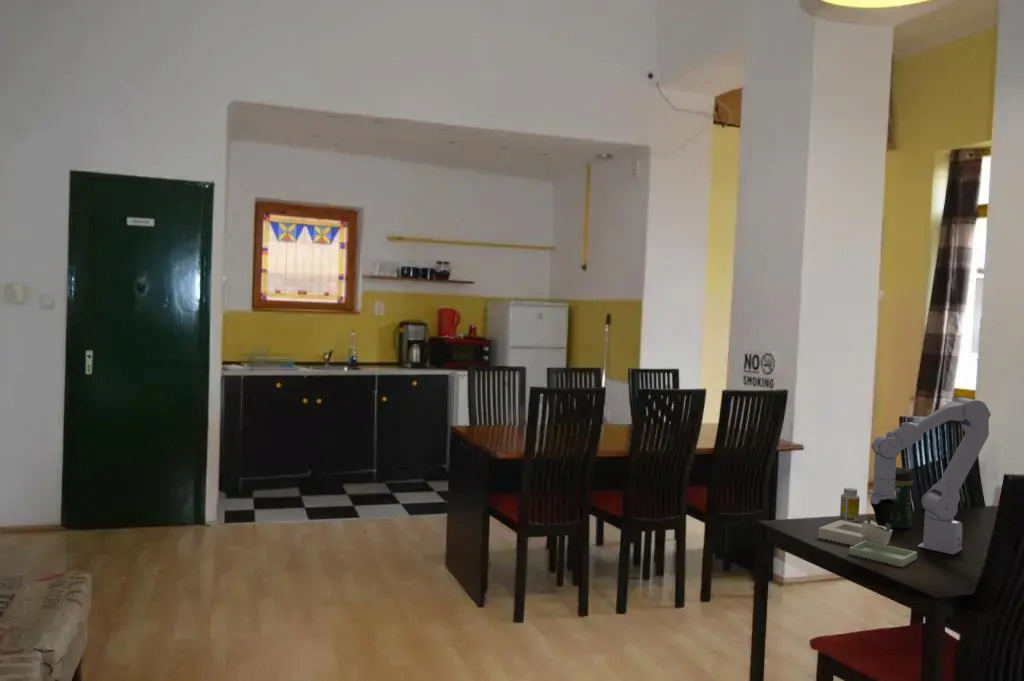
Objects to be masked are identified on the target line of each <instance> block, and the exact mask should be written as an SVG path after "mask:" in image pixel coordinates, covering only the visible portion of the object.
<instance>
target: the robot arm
mask: <svg viewBox="0 0 1024 681" xmlns="http://www.w3.org/2000/svg"><path fill="white" fill-rule="evenodd" d="M991 415H992V414H991V411H990V410H989V408H988V406H987V404H986V403H985V402H983V401H981V400H980V399H979V400H978V399H971V398H967V397H965V396H960V397H957V398H955V399H954V400H951V401H948V402H946V403H945V404H944V405H943V406H941V407H940V408H938V409H936V410H935V411H933V412H932V413H930V414H929V415H927V416H925V417H924V418H922V419H921V420H918V421H917V422H912V421H909V422H906V421H905V422H902V423H900V427H898V428H896V429H894V430H892V431H887V432H886V435H880V436H877V437H876V438H875V439H874V440H873V442H872V443H871V449H872V451H873V452H874V461H873V482H872V484H873V485H872V490H868V495H870V498H869V503H870V505H871V507H872V509H873V512H874V517H876V521H875V522H876V523H877V525H880V526H884V527H886V526H885V525H886V522H887V523H888V521H889V518H890V514H891V512H892V510H893V508H894V506H895V505H896V501H895V500H890V499H891V498H895V497H896V491H895V475H896V467H897V457H898V456H899V455H900V453H901V451H903V450H905V449H906V448H908V447H910V446H911V445H913V444H915V443H917V442H919V441H920V440H922V438H923V435H924V433H926V432H928V431H931V430H933V429H934V428H936V427H938V426H940V425H943V424H945V423H946V422H947V423H948V422H949V421H958V422H959V423H960V425H961V426H962V429H963V431H964V435H963V437H962V439H961V441H960V443H959V445H958V447H957V448H956V450H955V452H954V454H953V455H952V457H951V459H950V461H949V463H948V464H947V467H946V468H945V470H944V472H943V473H942V476H941V478H940V479H939V481H937V482H936V483H934V484H933V485H931V488H930V489H929V490H928V491H927V492H925V493H924V494H923V495H922V497H921V506H922V508H923V509H924V510H925V512H924V519H923V521H924V522H923V524H924V525H923V539H922V540H923V542H921V543H920V544H918V545H917V547H918V548H921V549H922V548H923V549H925V550H931V551H936V552H940V553H944V554H949V555H955V554H958V553H959V552H960V551H962V550H963V548H962V545H963V544H962V542H963V523H962V522H961V521H959V520H955V519H954V517H955V516H956V515H957V513H958V511H959V510H958V509H959V508H958V506H959V503H960V500H961V496H960V489H961V487H962V486H963V484H964V482H965V480H966V478H967V477H968V475H969V473H970V470H971V469H972V467H973V466H974V464H975V462H976V460H977V459H978V456H979V454H980V452H981V450H982V449H983V446H984V445H985V444H986V441H987V440H988V438H989V434H990V430H989V428H990V427H989V426H990V423H989V422H990V421H989V419H990V417H991Z"/></svg>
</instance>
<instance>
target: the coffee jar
mask: <svg viewBox="0 0 1024 681" xmlns="http://www.w3.org/2000/svg"><path fill="white" fill-rule="evenodd" d="M913 483H914V477H913V471H912V469H910V468H909V469H908V468H903V467H897V466H896V475H895V491H896V497H895V498H891V499H890V500H895V501H896V505H895V506H894V508H893V510H892V512H891V514H890V518H889V521H888V523H889V524H890V525H891V528H896V529H897V528H898V529H908V528H910V527H911V526H912V511H911V510H912V509H911V508H912V506H911V489H912V488H911V487H913Z"/></svg>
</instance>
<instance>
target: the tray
mask: <svg viewBox="0 0 1024 681" xmlns="http://www.w3.org/2000/svg"><path fill="white" fill-rule="evenodd" d="M848 555H849V556H852V555H854V556H853V557H856V556H858V558H861V557H862V559H865V558H867V559H866V560H869V559H871V560H870V561H874V560H876V561H875V562H878V561H880V562H879V563H882V562H885V563H884V564H886V563H888V565H890V566H896V567H900V568H905V567H906V566H907V565H910V564H911V563H912V562H914V561H916V559H917V560H918V551H914V550H910V549H906V548H903V547H902V548H901V547H897V546H891V545H889V544H888V545H883V544H879V543H874V542H871V541H869V540H867V541H863V542H861V543H858V544H856V545H854V546H852V545H851V546H850V547H849V548H848Z"/></svg>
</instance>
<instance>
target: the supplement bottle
mask: <svg viewBox="0 0 1024 681" xmlns="http://www.w3.org/2000/svg"><path fill="white" fill-rule="evenodd" d="M839 513H840V514H839V518H840V517H841V518H840V520H843V521H848V522H853V523H856V522H858V521H859V518H860V517H859V516H860V515H859V514H860V496H859V495H858V488H853V487H844V488H843V493H842V494H840V510H839Z"/></svg>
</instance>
